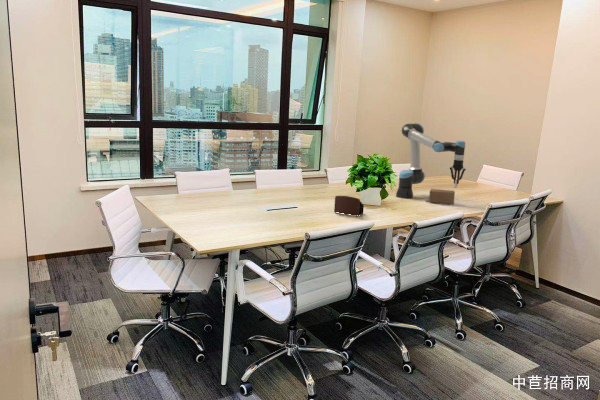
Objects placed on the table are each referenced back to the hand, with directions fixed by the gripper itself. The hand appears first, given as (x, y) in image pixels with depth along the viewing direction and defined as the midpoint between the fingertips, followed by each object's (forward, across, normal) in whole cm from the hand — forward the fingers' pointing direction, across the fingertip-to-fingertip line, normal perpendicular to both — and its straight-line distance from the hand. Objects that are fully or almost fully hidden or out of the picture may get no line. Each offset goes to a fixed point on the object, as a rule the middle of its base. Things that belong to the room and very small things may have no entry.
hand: (455, 187), depth 388 cm
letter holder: (+15, -56, -88) cm, 105 cm away
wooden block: (+8, 0, -2) cm, 9 cm away
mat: (+14, -12, 0) cm, 18 cm away
